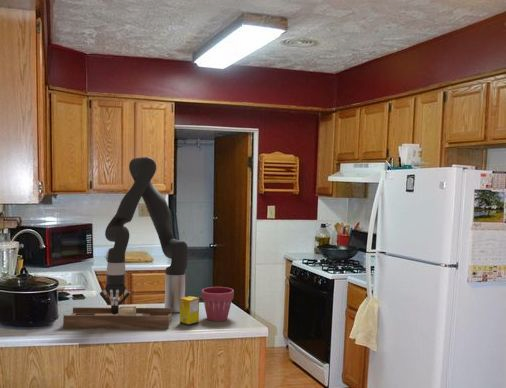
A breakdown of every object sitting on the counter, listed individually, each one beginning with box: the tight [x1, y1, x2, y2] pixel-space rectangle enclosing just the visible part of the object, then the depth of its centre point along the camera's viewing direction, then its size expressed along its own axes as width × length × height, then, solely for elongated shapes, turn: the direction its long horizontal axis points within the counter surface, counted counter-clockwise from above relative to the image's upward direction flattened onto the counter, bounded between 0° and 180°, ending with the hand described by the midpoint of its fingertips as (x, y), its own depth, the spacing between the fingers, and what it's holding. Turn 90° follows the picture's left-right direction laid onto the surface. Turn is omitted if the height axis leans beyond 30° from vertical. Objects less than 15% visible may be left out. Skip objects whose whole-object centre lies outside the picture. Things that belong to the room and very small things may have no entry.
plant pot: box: [201, 286, 235, 322], centre depth 218 cm, size 14×14×13 cm
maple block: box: [118, 305, 137, 316], centre depth 205 cm, size 6×6×4 cm
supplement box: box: [179, 295, 200, 327], centre depth 209 cm, size 6×6×11 cm
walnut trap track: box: [62, 306, 173, 330], centre depth 205 cm, size 14×42×5 cm, turn 94°
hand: (114, 314), depth 205 cm, fingers closed
